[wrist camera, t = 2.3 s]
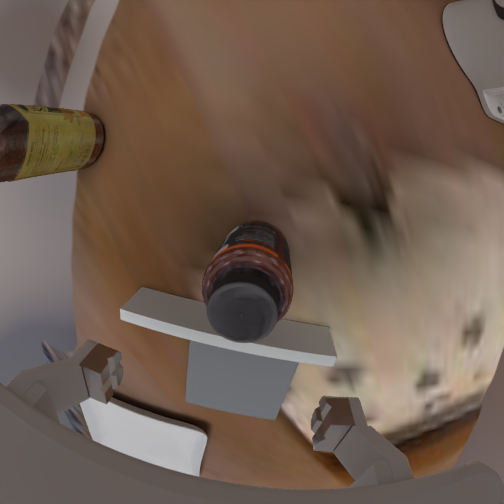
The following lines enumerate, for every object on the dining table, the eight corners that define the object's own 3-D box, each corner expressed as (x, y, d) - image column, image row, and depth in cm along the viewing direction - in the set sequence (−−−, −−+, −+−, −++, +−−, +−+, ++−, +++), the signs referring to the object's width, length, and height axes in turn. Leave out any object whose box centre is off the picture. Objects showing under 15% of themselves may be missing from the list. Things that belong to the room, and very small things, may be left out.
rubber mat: (301, 351, 29) (301, 354, 28) (275, 416, 32) (274, 419, 32) (192, 328, 29) (190, 331, 28) (186, 398, 33) (185, 401, 32)
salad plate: (212, 418, 34) (208, 436, 31) (200, 472, 41) (197, 485, 38) (83, 372, 34) (72, 385, 31) (102, 438, 41) (96, 449, 38)
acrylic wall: (329, 327, 27) (337, 356, 23) (325, 336, 28) (332, 366, 23) (142, 286, 28) (120, 308, 23) (141, 296, 28) (120, 319, 24)
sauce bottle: (105, 104, 22) (-67, 81, 3) (110, 162, 24) (-74, 191, 5) (61, 124, 23) (-91, 129, 4) (65, 176, 25) (-90, 216, 6)
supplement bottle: (215, 229, 25) (172, 278, 15) (278, 211, 24) (279, 249, 14) (235, 287, 27) (211, 363, 16) (295, 272, 26) (306, 345, 15)
